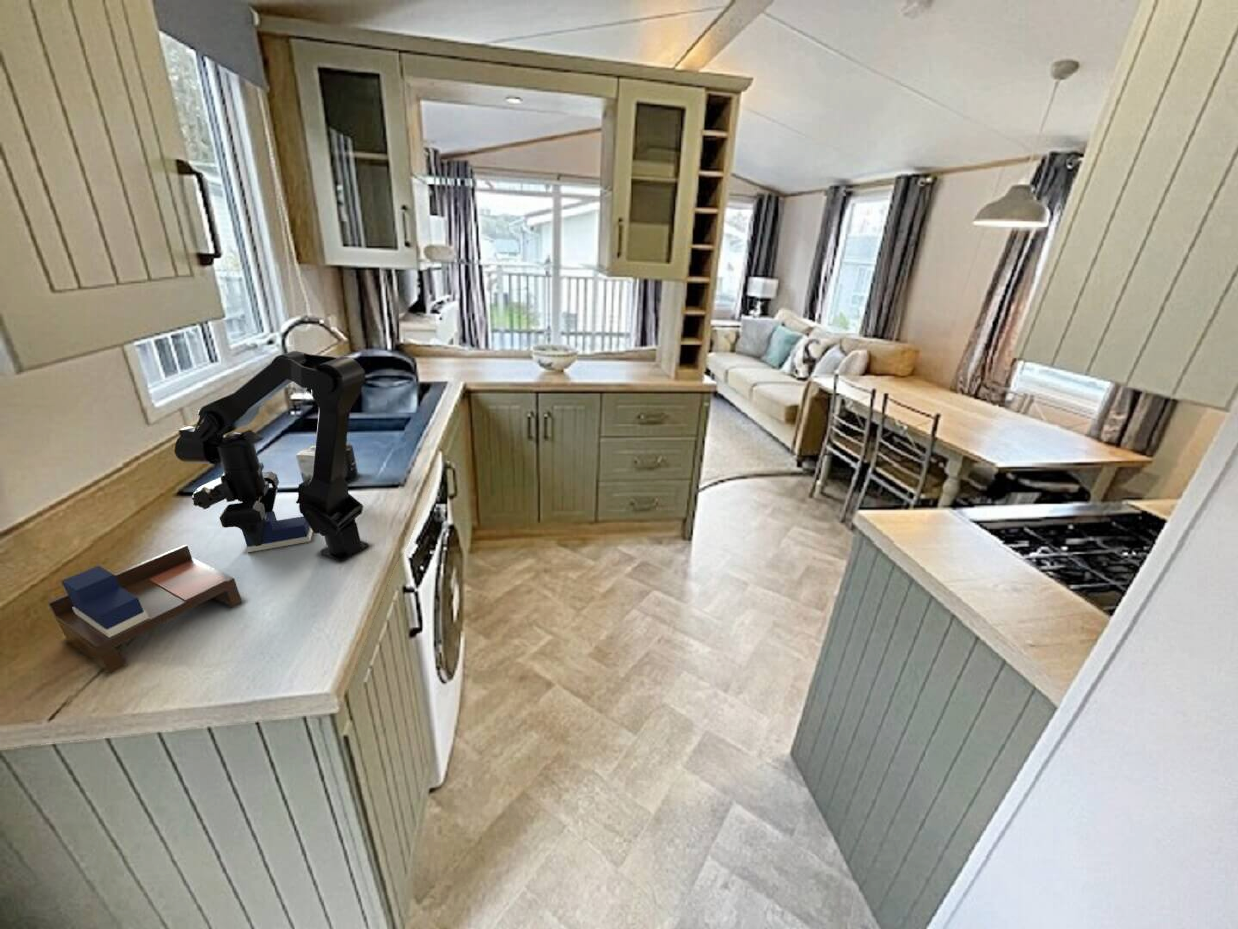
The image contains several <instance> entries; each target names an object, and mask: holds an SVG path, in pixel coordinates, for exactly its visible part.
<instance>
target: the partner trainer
mask: <svg viewBox="0 0 1238 929" xmlns="http://www.w3.org/2000/svg"><path fill="white" fill-rule="evenodd" d="M114 574H115V573H112V572H110V571H108V570H107V569H105V568H104V567H102V566H100V565H97V566H95V567H92V568H88V569H86V570H84V571H82V572H79V573H77V574H74V575H72V576H70V577H66V578H64V579H62V580H61V581H60V582H61V585H62V586H63V588H64V590H65V592H66V594H68V596H69V598H70V600H71V602H72V604H73V605H74V607H72V608H73V610H74V612H75V614H76V615H78V616H79V617H81V618H82V619H83V620H85V621H86V622H88V623H89V624H90V625H92V626H93V627H95V628H96V629H98V630H99V631H100V632H102V633H103V634H105V635H106V636H107V637H109V638H110V637H112V636H114V635H116V634H118V633H120V632H122V631H124V630H126V629H128V628H130V627H132V626H134V625H136V624H138V623H140V622H142V621H144V620H146V619H148V618H149V616H148V614H147V612H146V611H144V610H143V609H142V606H141V604H140V602H139V600H138V598H137V597H135V596H134V595H132V594H131V593H129V592H127V591H126V590H124V589H122V588H121V587H120V586H119V584H118V582H117V580H116V577H115V575H114Z"/></svg>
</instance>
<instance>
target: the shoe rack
mask: <svg viewBox="0 0 1238 929" xmlns="http://www.w3.org/2000/svg"><path fill="white" fill-rule="evenodd" d="M113 574H114V575H115V577H116V580H117V582H118V584H119V586H120V587H121V588H122V589H124V590H126V591H127V592H129V593H131V594H132V595H134V596H135V597H137V598H138V600H139V602H140V604H141V606H142V609H143V610H144V611H146V612H147V614H148V616H149V618H148V619H146V620H144V621H142V622H140V623H138V624H136V625H134V626H132V627H130V628H128V629H126V630H124V631H122V632H120V633H118V634H116V635H114V636H112V637H110V638H109V637H107V636H106V635H105V634H103V633H102V632H100V631H99V630H98V629H96V628H95V627H93V626H92V625H90V624H89V623H88V622H86V621H85V620H83V619H82V618H81V617H79V616H78V615H76V614H75V612H74V610H73V608H72V607H74V605H73V604H72V602H71V600H70V598H69V596H68V594H67V593H65V594H63V595H60V596H58V597H56V598H53V599H51V600H49V601H46V603H47V604H48V607H49V608H50V610H51V612H52V614H53V615H54V617H55V620H56V622H57V623H58V625H59V627H60V629H61V631H62V632H63V635H64V636H65V639H66V640H67V642H69V643H70V644H71V645H73V646H74V647H75V648H77V649H78V650H79V651H81V652H82V653H83V654H84V655H86V656H87V657H88V658H90V659H91V660H92V661H93V662H95V663H96V664H97V665H99V666H100V667H101V668H103V669H104V670H105V671H107V672H108V673H109V674H111V673H113V672H115V671H117V670H120V669H121V668H123V667H124V663H123V662H122V660H121V659H122V658H121V657H120V655H119V653H118V651H117V649H116V647H118V646H120V645H122V644H124V643H126V642H128V641H130V640H132V639H134V638H136V637H138V636H140V635H142V634H143V633H146V632H148V631H149V630H151V629H153V628H156V627H158V626H159V625H161V624H163V623H165V622H167V621H170V620H171V619H173V618H175V617H177V616H179V615H181V614H184V613H185V612H188V611H189V610H191V609H193V608H195V607H197V606H199V605H201V604H203V603H205V602H207V601H209V600H211V599H216V600H217V601H219V602H221V603H223V604H225V605H227V606H229V607H230V608H234V607H236V606H238V605H240V604H242V603H243V600H242V597H241V594H240V592H239V589H238V586H237V583H236V580H235V578H234V577H233V576H230V575H228V574H226V573H224V572H222V571H220V570H218V569H216V568H214V567H212V566H210V565H208V564H206V563H205V562H202V561H200V560H198V559H196V558H194V557H193V556H192V554H191V551H190V549H189V547H188V545H187V544H183V545H181V546H179V547H176V548H173V549H171V550H169V551H166V552H164V553H161V554H159V555H156V556H154V557H152V558H149V559H147V560H145V561H142V562H139V563H137V564H136V565H133V566H132V565H131V566H130V567H128V568H125V569H123V570H121V571H118V572H116V573H113Z"/></svg>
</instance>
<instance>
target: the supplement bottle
mask: <svg viewBox="0 0 1238 929" xmlns="http://www.w3.org/2000/svg"><path fill="white" fill-rule="evenodd" d="M342 477H343V478H344V480H345V481H346V483H347V484H348V483H351V482H353V481H355V480H357V479H358V478H359V471H358V464H357V460H356V456H355V450H354V447H353V444H351V443H350V442H348V439H347V440H346V448H345V456H344V464H343V472H342Z"/></svg>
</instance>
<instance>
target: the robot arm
mask: <svg viewBox="0 0 1238 929" xmlns="http://www.w3.org/2000/svg"><path fill="white" fill-rule="evenodd" d="M365 381H366V372H365V369H364V368H362V365H361V364H360V363H359V362H358V361H357V360H355V359H353V357H349V356H341V357H337V356H330V355H322V354H321V355H319V354H310V353H306V352H302V351H298V350H293V351H289V352H286V353H283V354H278V355H276V356H275V357H274V358H273V360H271V362H270V363H269V364H268V365H266V366H265V367H264V368H262V369H260V371H259V372H257V373H256V374H255V375H254V376H252V378H250V379H249V380H248V381H247V382H245V383H244V384H243V385H242V386H240V387H239V388H238V389H236V390H235V391H234V392H232V393H230V394H229V395H226V396H224V397H220V398H219V399H216V400H214V401H212V402H210V403H207V404H205V405H203V406H202V407H200V408H199V409H198V412H197V415H198V416H199V417H198V421H197V423H196V425H195V426H186V427H183V428H181V429H179V430H178V433H179V437H178V438H177V439H176V442H175V444H174V450H173V452H174V454H175V456H176V458H177V459H178V460H179V461H181V462H183V463H191V464H210V465H217V464H220V463H221V466H222V469H223V474H222V475H220V477H218V478H216V479H214V480H211V481H209V482H207V483H205V484H203V485H200V486H199V487H198V488H197V489H196V490H195V491H193V493H192V495H191V500H192V501H193V506H195V507H198V508H201V509H203V510H207V509H210V508H211V506H213V505H216V504H218V503H220V502H222V501H226V503H229V504H228V505H227V506H226V507H225V508H224V510H223V511H222V513H221V514H220V516H219V521H220V524H221V526H222V527H221V528H225V529H226V528H234V527H235V528H237V529H240V530H241V532H242V531H243V532H244V533H245V534H246V536H247V537H248V538H249V539H250V541H251V542H252V543H253V544H254V545H255V546H261V545H262V541H263V535H264V528H265V522H266V515H267V513H265V512H271V511H274V509H275V508H274V507H275V503H276V499H277V493H278V489H279V487H278V486H279V484H280V481H279V477H278V474H277V473H274V472H273V471H271V470H270V471H263V470H264V468H265V466H264V463H263V461H262V462H260V460H259V456H258V453H257V449H256V446H255V444H257V443H260V442H261V441H263V440H264V437H263V436H262V435H260V434H259V433H256V432H255V431H253V430H252V429H251V428H249V429H247V430H244V431H242V432H234V431H236V430H239V429H241V428H244V427H246V426H249V425H250V424H251V423H252V422H253V421H254V420H255V419H256V417H257V415H258V414H259V413H260V408H261V407H262V406H263V405H264V404H265V403H266V402H267V401H269V400H270V399H271V398H272V397H274V396H275V395H276V394H278V393H279V392H280V391H282V390H283V389H284V388H286V387H287V386H288V385H289V384H290V383H292V382H293V383H295V384H296V385H297V386H299V387H300V388H303V389H306V390H309V391H310V392H311V396H312V398H313V400H314V402H315V403H316V405H317V407H318V416H317V425H316V426H317V429H316V436H315V437H316V438H315V446H316V447H315V457H314V467H313V476H312V477H310V478H309V479H307V480H306V481H304V482H303V481H301V483H299V484H298V486H297V495H298V496H297V500H296V501H295V504H297V505H298V510H299V512H300V514H301V516H304V518H305V519H306V521H307V523H308V524H309V526H310V527H311V529H312V530H313V532H312V533H314V534H319V535H320V536H321V537H324V541H325V544H326V547H324V548H323V549H321V550H320V554H321V555H324V556H326V557H328V558H330V559H333V560H336V561H338V562H343V561H346V560H347V559H350V558H351V557H353V556H355V555H357V554H359V553H360V552H362V551H364V550H365V549H367V548H369V547H370V545H369V544H370V543H368V542H365V541H362V540H361V536H360V532H359V528H358V523H357V522H356V518H358V517H359V516H361V515H362V514H363V510H364V505H363V504H362V503H361V502H360V501H358V499H356V498H355V497H354V496H353V495H351V493H349V485H348V482H347V483H346V481H345V480H344V478H343V477H342V472H343V464H344V456H345V448H346V440H347V441H348V432H349V431H348V430H349V423H350V415H351V410H352V407H353V406H354V404H355V403H356V401H357V400H358V398H359V396H360V394H361V392H362V390H363V386H364V383H365ZM270 484H271V487H270ZM235 501H238V502H237V503H231V502H235ZM243 532H242V533H243Z"/></svg>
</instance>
